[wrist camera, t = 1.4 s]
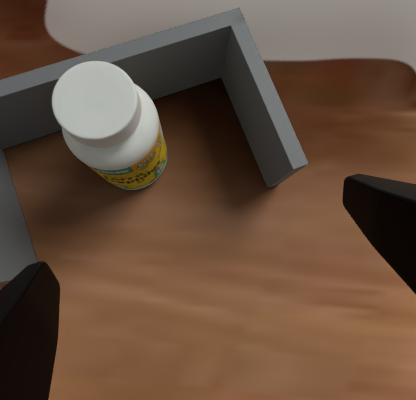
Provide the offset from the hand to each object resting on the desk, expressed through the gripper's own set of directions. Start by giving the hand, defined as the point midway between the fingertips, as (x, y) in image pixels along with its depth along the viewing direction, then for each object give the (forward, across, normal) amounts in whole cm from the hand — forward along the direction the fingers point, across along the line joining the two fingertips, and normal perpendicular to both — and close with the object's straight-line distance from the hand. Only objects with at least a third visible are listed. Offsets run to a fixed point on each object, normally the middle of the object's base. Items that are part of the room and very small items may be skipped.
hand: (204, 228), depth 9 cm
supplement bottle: (+16, +3, +3) cm, 17 cm away
